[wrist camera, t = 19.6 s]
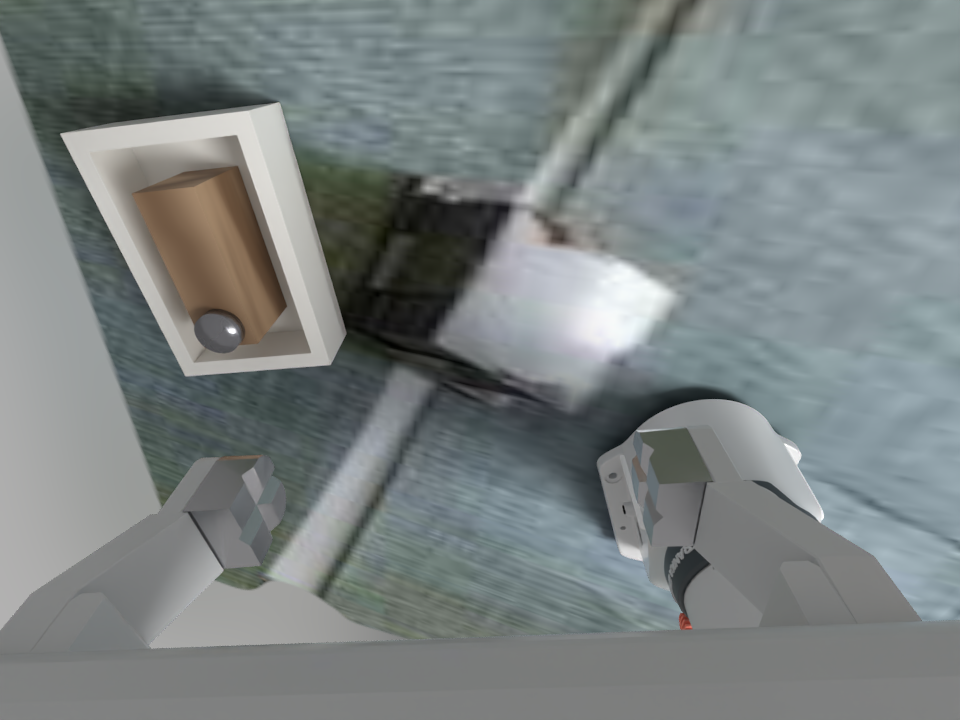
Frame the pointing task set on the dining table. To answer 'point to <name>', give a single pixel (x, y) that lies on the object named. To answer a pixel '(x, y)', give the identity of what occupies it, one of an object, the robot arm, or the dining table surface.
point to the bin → (276, 203)
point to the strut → (214, 255)
